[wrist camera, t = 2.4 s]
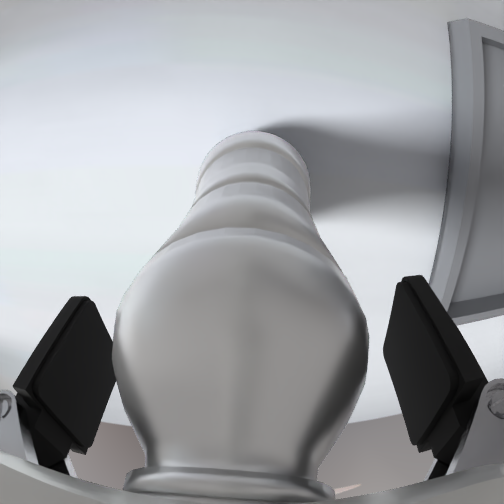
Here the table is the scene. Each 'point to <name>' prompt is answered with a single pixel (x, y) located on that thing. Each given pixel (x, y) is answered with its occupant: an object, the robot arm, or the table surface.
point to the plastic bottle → (240, 339)
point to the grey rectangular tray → (474, 179)
